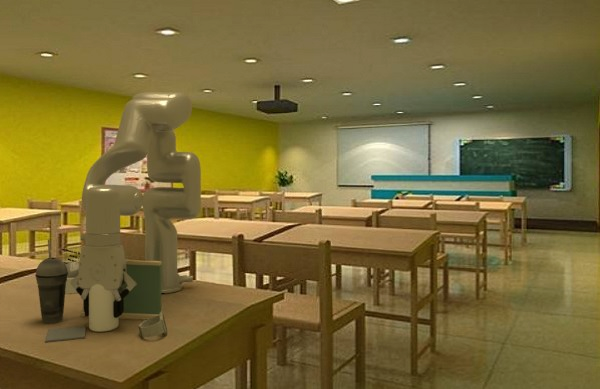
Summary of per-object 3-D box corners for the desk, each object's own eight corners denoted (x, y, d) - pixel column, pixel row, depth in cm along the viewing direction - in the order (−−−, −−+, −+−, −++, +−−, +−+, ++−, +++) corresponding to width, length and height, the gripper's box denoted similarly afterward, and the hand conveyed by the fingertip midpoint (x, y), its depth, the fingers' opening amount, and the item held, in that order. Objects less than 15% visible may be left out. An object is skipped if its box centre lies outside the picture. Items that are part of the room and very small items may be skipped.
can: (90, 334, 114) (90, 282, 114) (87, 325, 120) (87, 276, 119) (120, 330, 117) (120, 279, 117) (116, 322, 123) (116, 274, 122)
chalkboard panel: (80, 316, 127) (80, 260, 126) (88, 311, 131) (88, 257, 130) (157, 320, 125) (157, 263, 124) (163, 315, 129) (163, 260, 128)
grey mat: (85, 327, 119) (85, 325, 119) (85, 338, 112) (85, 336, 112) (48, 330, 116) (48, 329, 116) (44, 342, 109) (44, 340, 109)
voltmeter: (111, 287, 157) (111, 256, 157) (75, 294, 149) (74, 261, 148) (70, 274, 174) (70, 246, 174) (36, 279, 166) (36, 250, 165)
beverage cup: (46, 327, 119) (45, 243, 117) (29, 321, 122) (28, 240, 121) (75, 319, 125) (74, 239, 124) (57, 314, 129) (56, 236, 127)
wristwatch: (167, 340, 112) (167, 318, 111) (137, 342, 110) (137, 320, 110) (167, 327, 120) (167, 306, 120) (139, 329, 119) (139, 308, 119)
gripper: (58, 241, 114) (59, 318, 115) (132, 243, 113) (132, 322, 114) (76, 236, 122) (77, 309, 123) (145, 238, 120) (145, 312, 121)
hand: (103, 314), depth 118 cm, fingers closed on can, 6 cm apart
